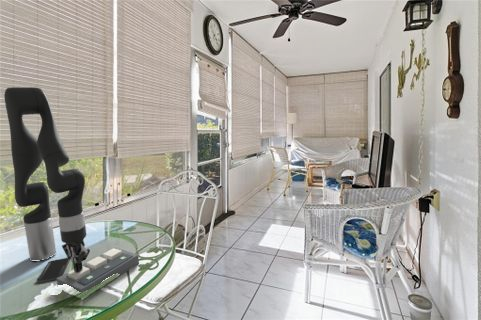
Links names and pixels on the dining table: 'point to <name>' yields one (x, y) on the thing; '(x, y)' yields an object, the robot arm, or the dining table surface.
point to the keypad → (102, 271)
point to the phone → (53, 270)
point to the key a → (78, 274)
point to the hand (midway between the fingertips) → (78, 270)
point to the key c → (112, 254)
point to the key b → (96, 263)
